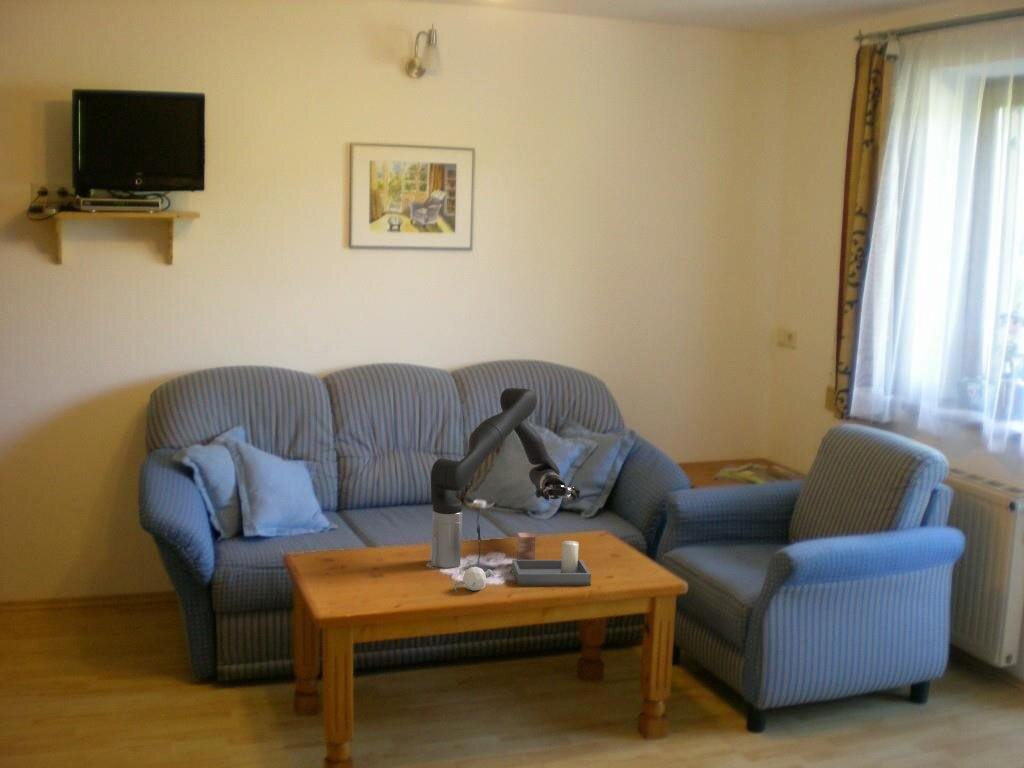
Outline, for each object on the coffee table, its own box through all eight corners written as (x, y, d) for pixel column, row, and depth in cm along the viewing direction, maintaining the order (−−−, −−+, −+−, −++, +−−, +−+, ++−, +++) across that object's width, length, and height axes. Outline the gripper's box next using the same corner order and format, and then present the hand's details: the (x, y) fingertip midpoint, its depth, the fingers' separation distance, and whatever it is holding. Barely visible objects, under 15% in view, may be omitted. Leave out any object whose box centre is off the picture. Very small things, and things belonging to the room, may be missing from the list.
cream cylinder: (562, 577, 334) (563, 545, 333) (559, 571, 339) (560, 540, 338) (578, 577, 335) (580, 545, 334) (575, 571, 340) (576, 540, 339)
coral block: (518, 568, 345) (519, 537, 343) (516, 563, 350) (517, 532, 348) (534, 568, 345) (535, 537, 344) (531, 563, 350) (533, 532, 349)
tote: (518, 585, 328) (518, 574, 328) (511, 570, 342) (512, 559, 341) (590, 585, 331) (591, 574, 331) (581, 570, 345) (581, 559, 344)
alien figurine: (460, 602, 318) (498, 586, 321) (453, 580, 317) (491, 564, 320) (454, 593, 325) (491, 578, 328) (447, 572, 324) (484, 557, 327)
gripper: (532, 474, 368) (539, 486, 352) (573, 474, 370) (583, 486, 354) (531, 496, 369) (538, 508, 354) (572, 496, 371) (582, 509, 356)
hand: (561, 497), depth 354 cm, fingers open, 8 cm apart
